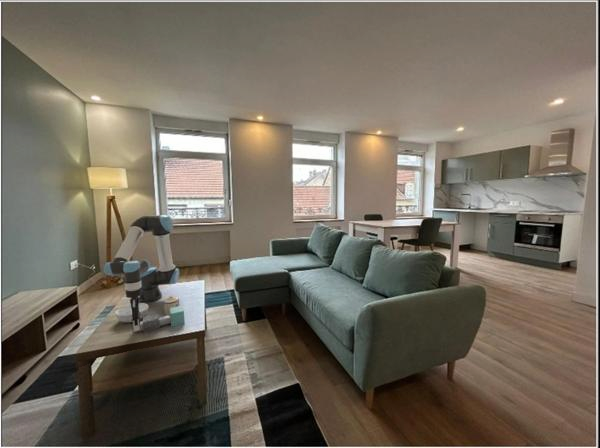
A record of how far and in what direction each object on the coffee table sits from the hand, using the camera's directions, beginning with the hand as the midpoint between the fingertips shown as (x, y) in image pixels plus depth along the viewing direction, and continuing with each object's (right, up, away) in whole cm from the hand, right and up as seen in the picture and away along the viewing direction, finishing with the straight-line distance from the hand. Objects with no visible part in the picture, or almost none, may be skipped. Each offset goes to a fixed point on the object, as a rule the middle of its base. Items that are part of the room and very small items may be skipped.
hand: (137, 328), depth 137 cm
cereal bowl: (-12, -1, +15) cm, 19 cm away
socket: (+18, -1, +11) cm, 21 cm away
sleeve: (+6, -2, +4) cm, 7 cm away
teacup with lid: (+7, 0, +25) cm, 26 cm away
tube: (+8, 0, +5) cm, 10 cm away
